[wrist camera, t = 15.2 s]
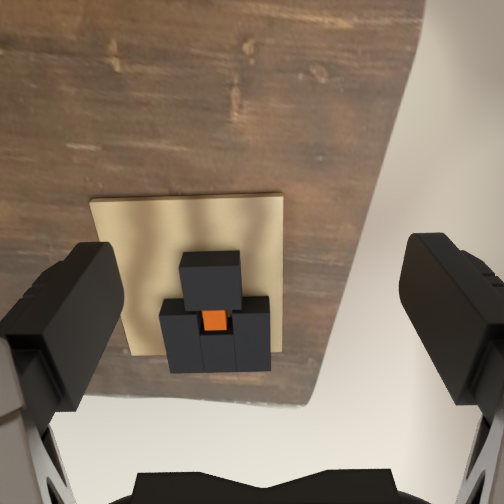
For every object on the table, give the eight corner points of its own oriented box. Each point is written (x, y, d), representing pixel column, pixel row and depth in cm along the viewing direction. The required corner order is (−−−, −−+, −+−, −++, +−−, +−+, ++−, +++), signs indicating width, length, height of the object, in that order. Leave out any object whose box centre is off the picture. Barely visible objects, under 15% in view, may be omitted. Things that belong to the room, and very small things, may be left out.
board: (282, 192, 37) (283, 196, 36) (281, 346, 48) (282, 352, 47) (92, 198, 37) (88, 202, 37) (133, 349, 48) (131, 355, 47)
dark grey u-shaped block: (269, 295, 42) (270, 312, 40) (270, 352, 47) (271, 371, 44) (163, 298, 43) (158, 315, 40) (174, 354, 47) (170, 373, 45)
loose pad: (239, 249, 39) (239, 265, 37) (243, 311, 44) (242, 329, 41) (182, 251, 39) (178, 267, 37) (192, 313, 44) (188, 331, 41)
